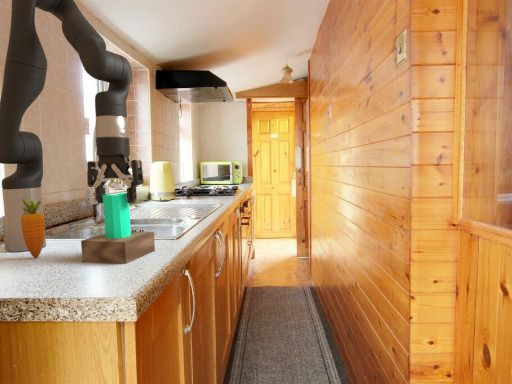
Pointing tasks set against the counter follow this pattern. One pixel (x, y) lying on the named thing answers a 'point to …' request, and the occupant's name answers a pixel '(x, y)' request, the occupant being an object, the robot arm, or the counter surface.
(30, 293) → the counter surface
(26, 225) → the carrot
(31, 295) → the counter surface
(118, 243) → the walnut stand
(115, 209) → the candle
